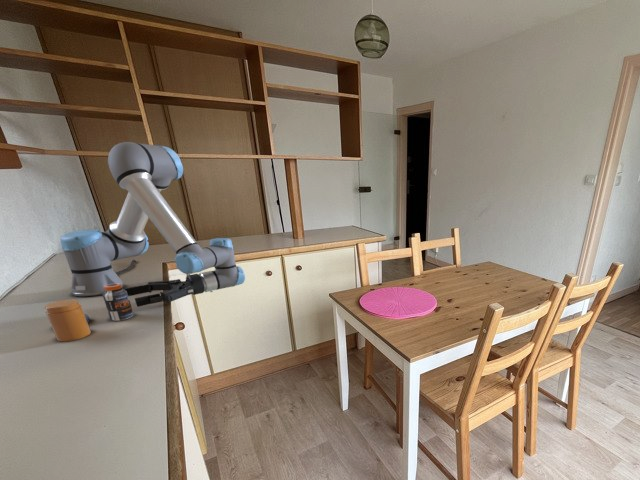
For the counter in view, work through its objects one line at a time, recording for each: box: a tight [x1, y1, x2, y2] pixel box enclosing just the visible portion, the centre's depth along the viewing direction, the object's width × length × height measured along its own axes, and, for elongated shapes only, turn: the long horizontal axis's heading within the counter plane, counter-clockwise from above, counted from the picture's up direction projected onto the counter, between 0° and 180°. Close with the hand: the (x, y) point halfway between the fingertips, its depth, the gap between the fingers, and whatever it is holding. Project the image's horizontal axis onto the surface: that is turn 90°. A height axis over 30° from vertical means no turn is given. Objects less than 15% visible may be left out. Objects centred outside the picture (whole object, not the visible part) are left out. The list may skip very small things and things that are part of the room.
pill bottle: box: [102, 283, 134, 322], centre depth 101 cm, size 6×6×11 cm
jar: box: [44, 298, 92, 342], centre depth 89 cm, size 7×7×10 cm
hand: (130, 297), depth 103 cm, fingers open, 13 cm apart
